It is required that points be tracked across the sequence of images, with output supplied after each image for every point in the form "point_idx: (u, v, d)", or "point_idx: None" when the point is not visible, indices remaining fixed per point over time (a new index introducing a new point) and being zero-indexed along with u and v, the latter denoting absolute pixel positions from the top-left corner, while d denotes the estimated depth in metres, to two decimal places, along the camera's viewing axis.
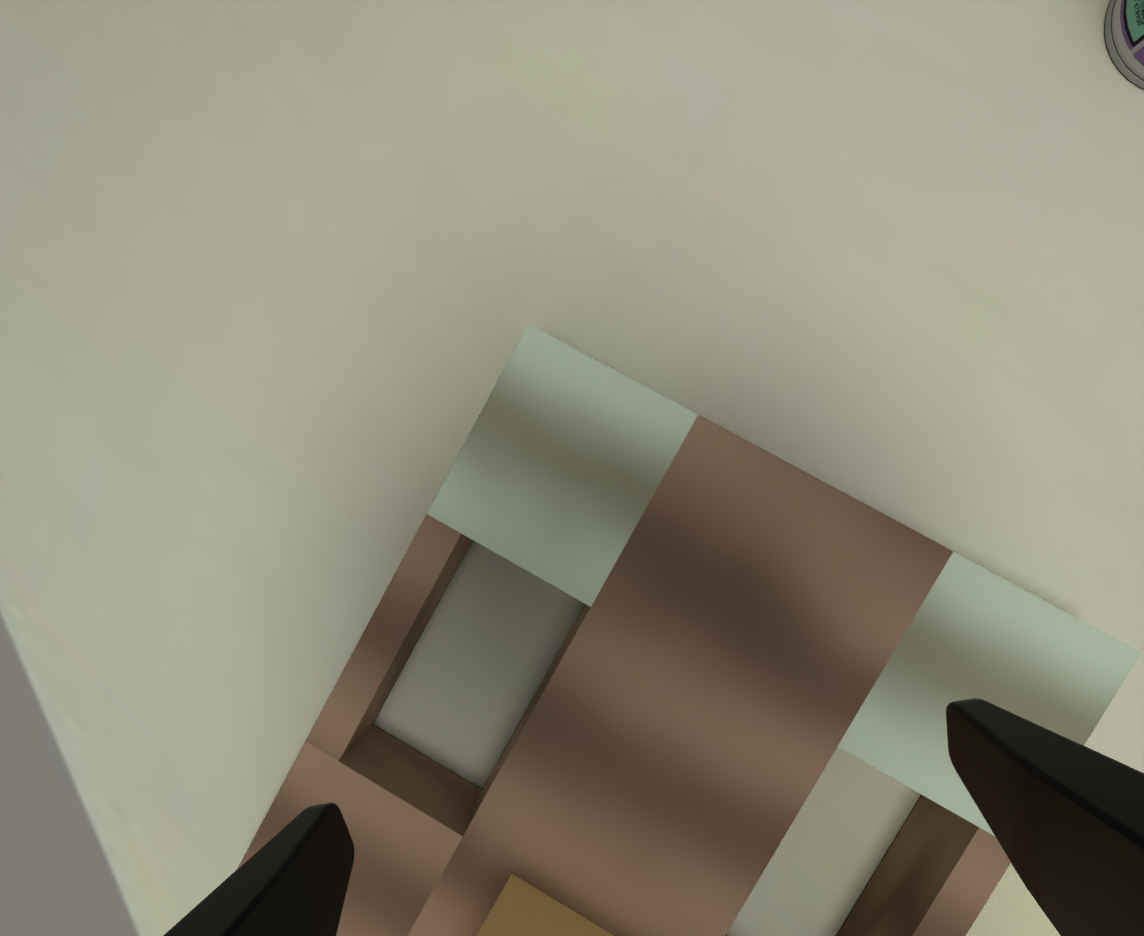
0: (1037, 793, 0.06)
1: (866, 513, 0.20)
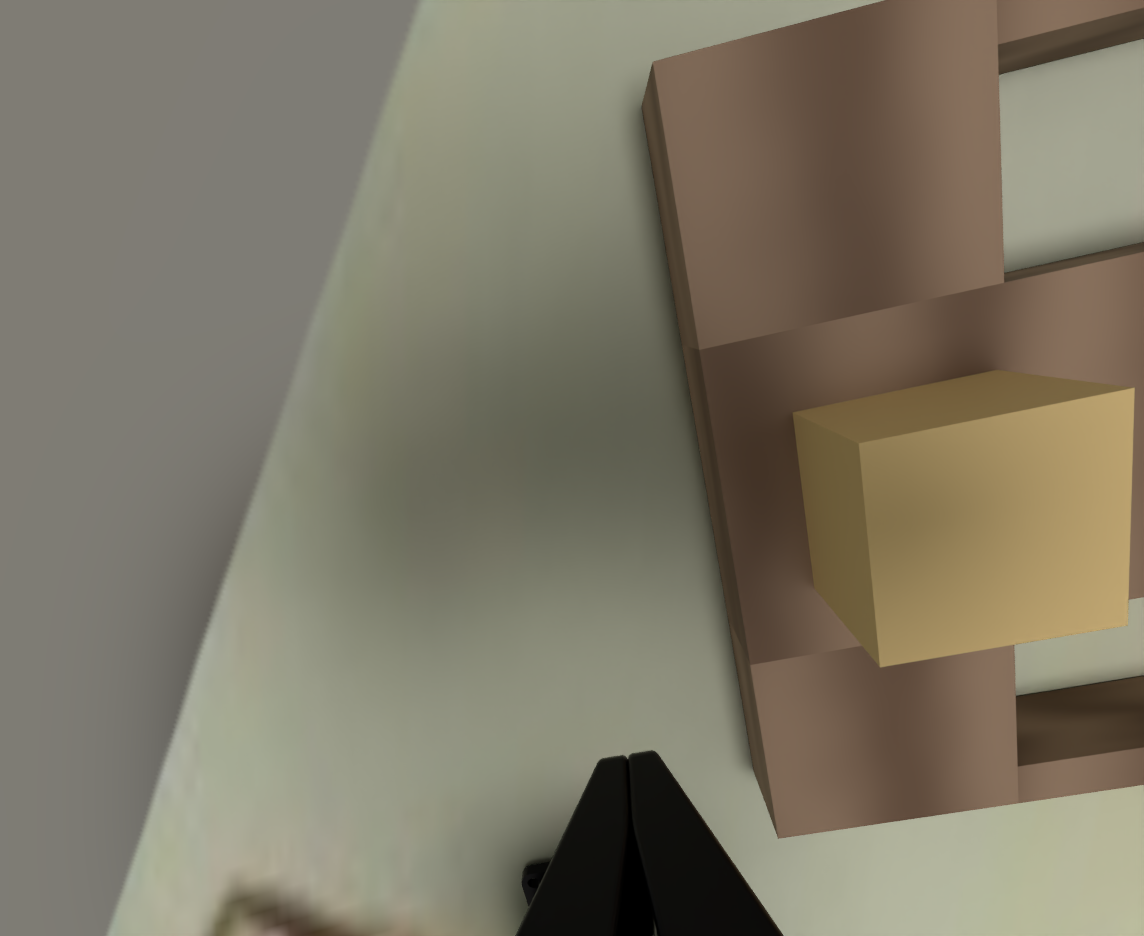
0: None
1: None
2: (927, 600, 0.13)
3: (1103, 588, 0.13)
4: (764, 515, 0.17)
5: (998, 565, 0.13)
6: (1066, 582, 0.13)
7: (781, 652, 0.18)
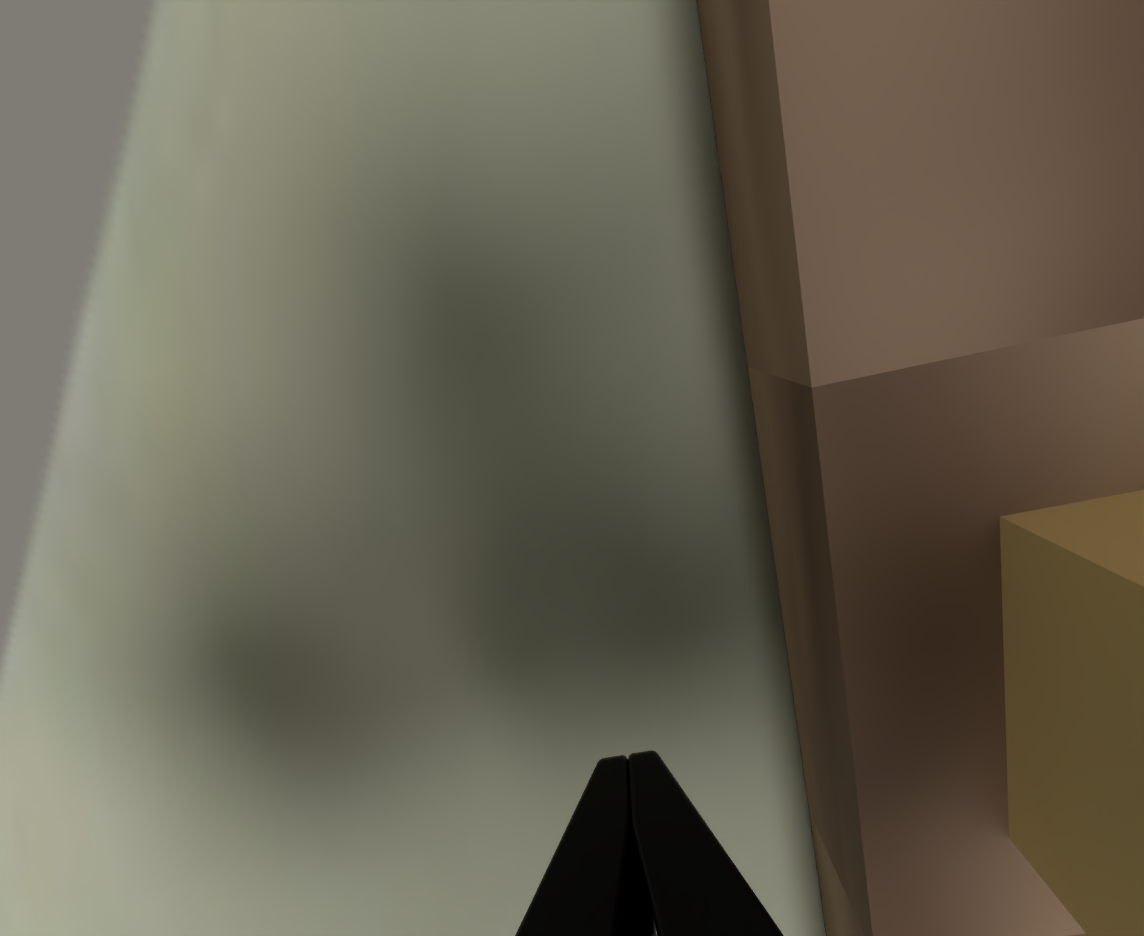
0: None
1: None
2: None
3: None
4: (923, 709, 0.08)
5: None
6: None
7: None
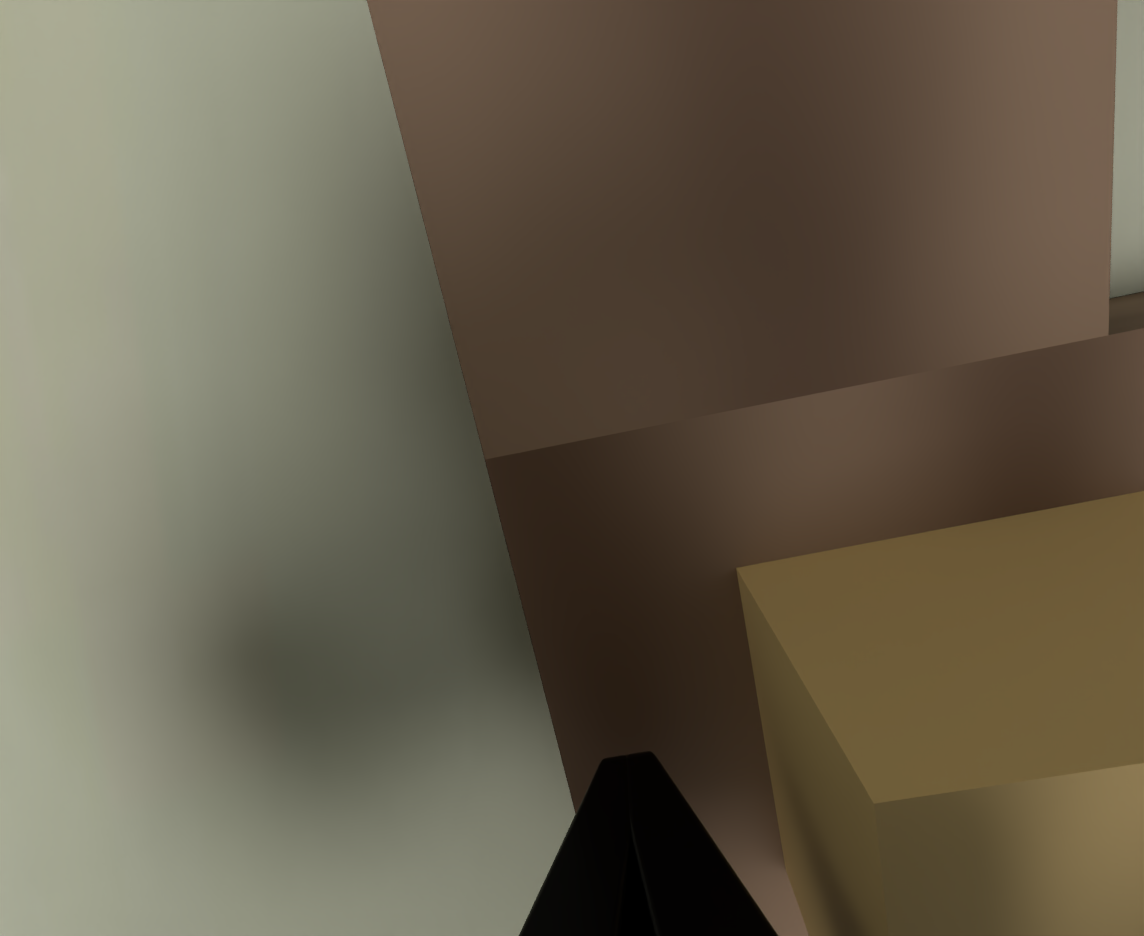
0: None
1: None
2: None
3: None
4: None
5: None
6: None
7: None
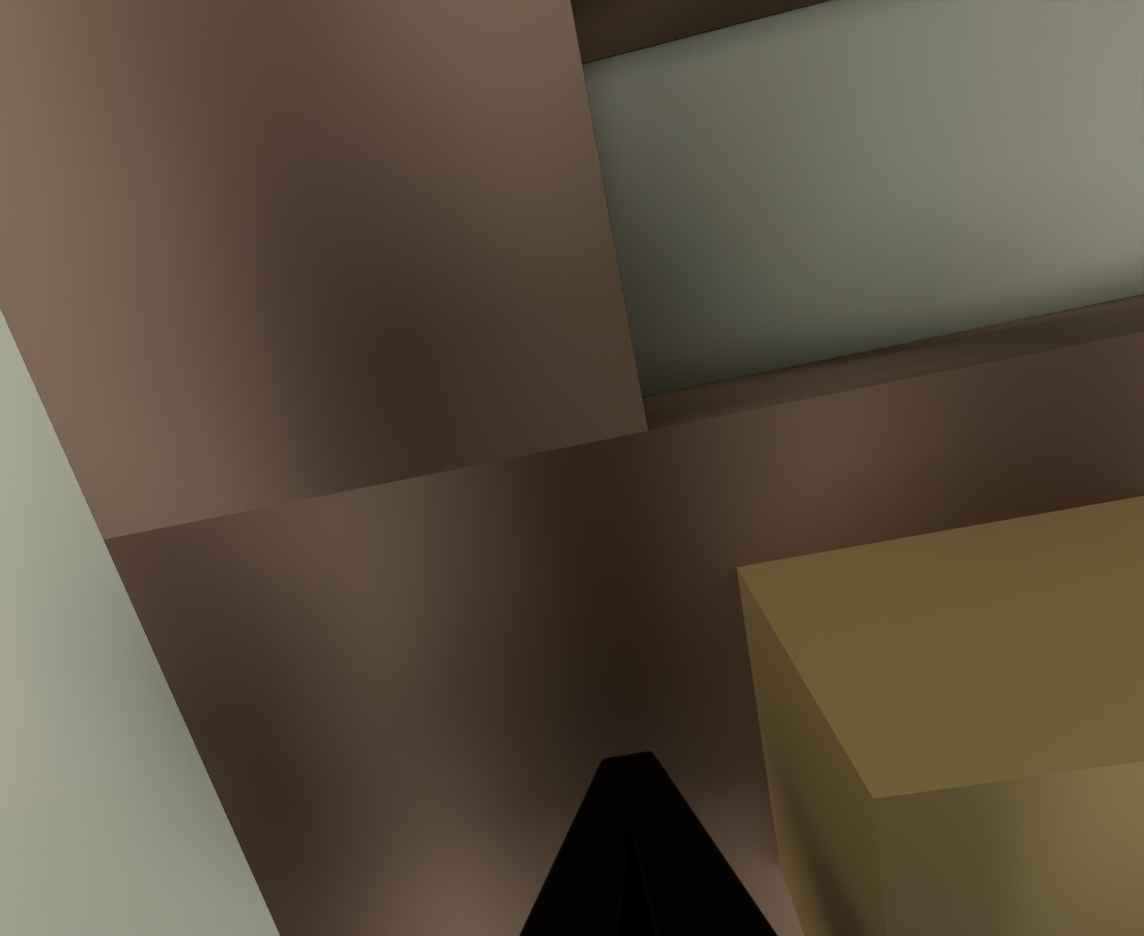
0: None
1: None
2: None
3: None
4: (288, 810, 0.09)
5: None
6: None
7: None
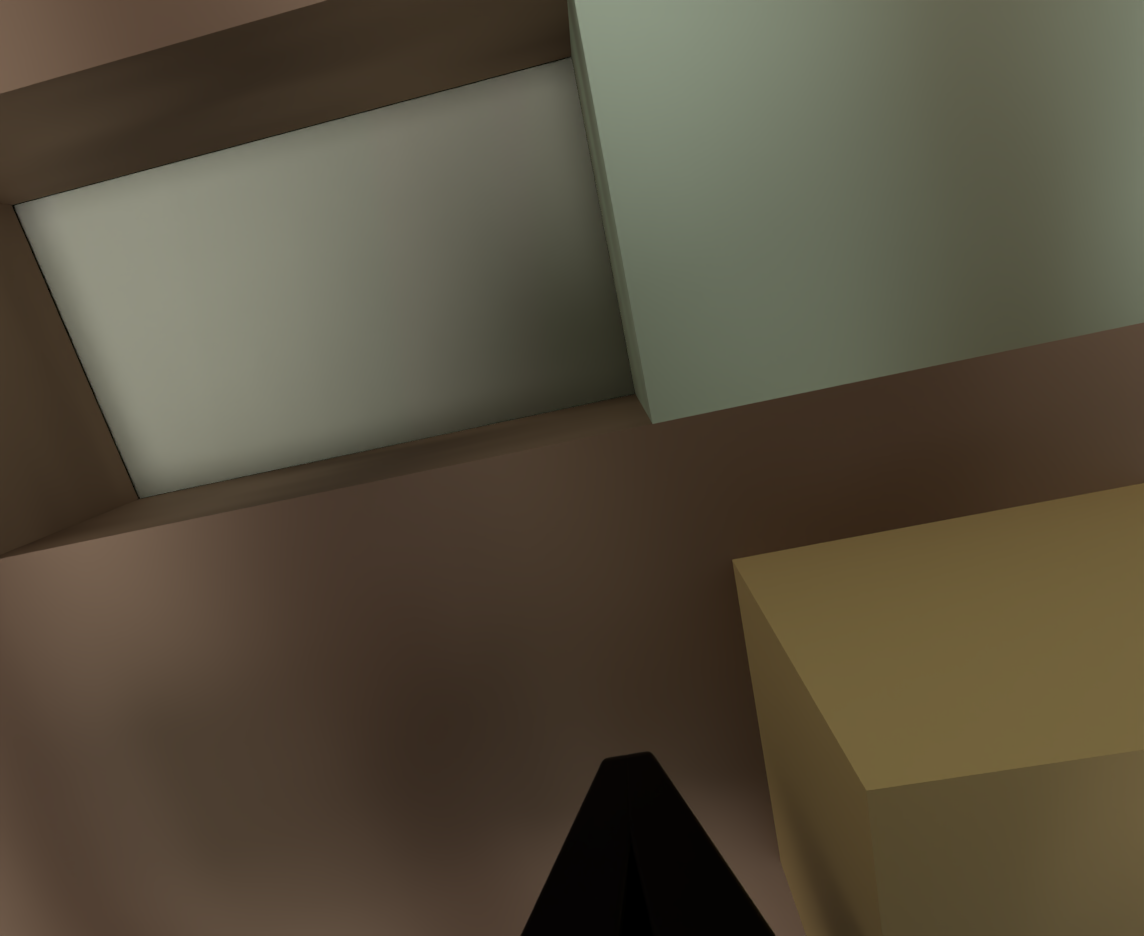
0: None
1: None
2: None
3: None
4: None
5: None
6: None
7: None
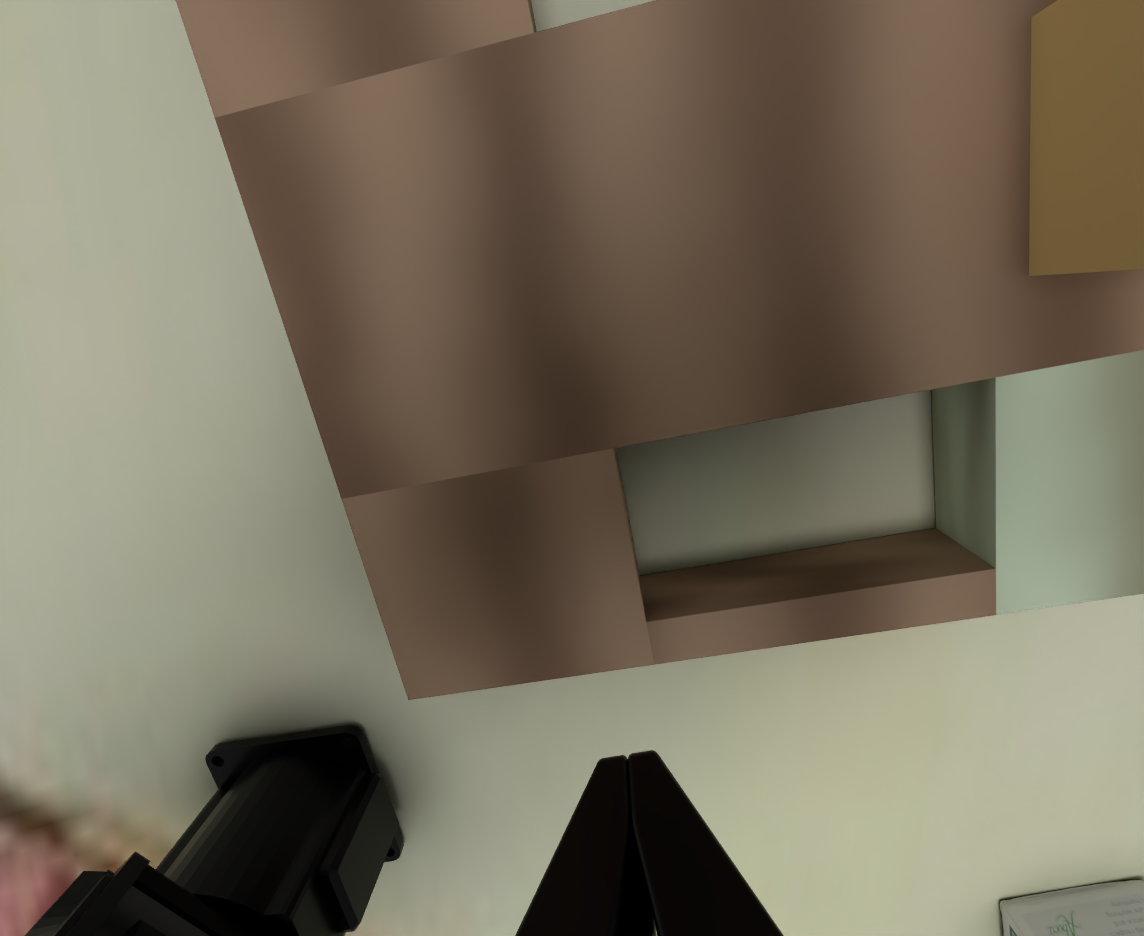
0: None
1: None
2: None
3: None
4: (322, 320, 0.15)
5: None
6: None
7: (371, 484, 0.16)
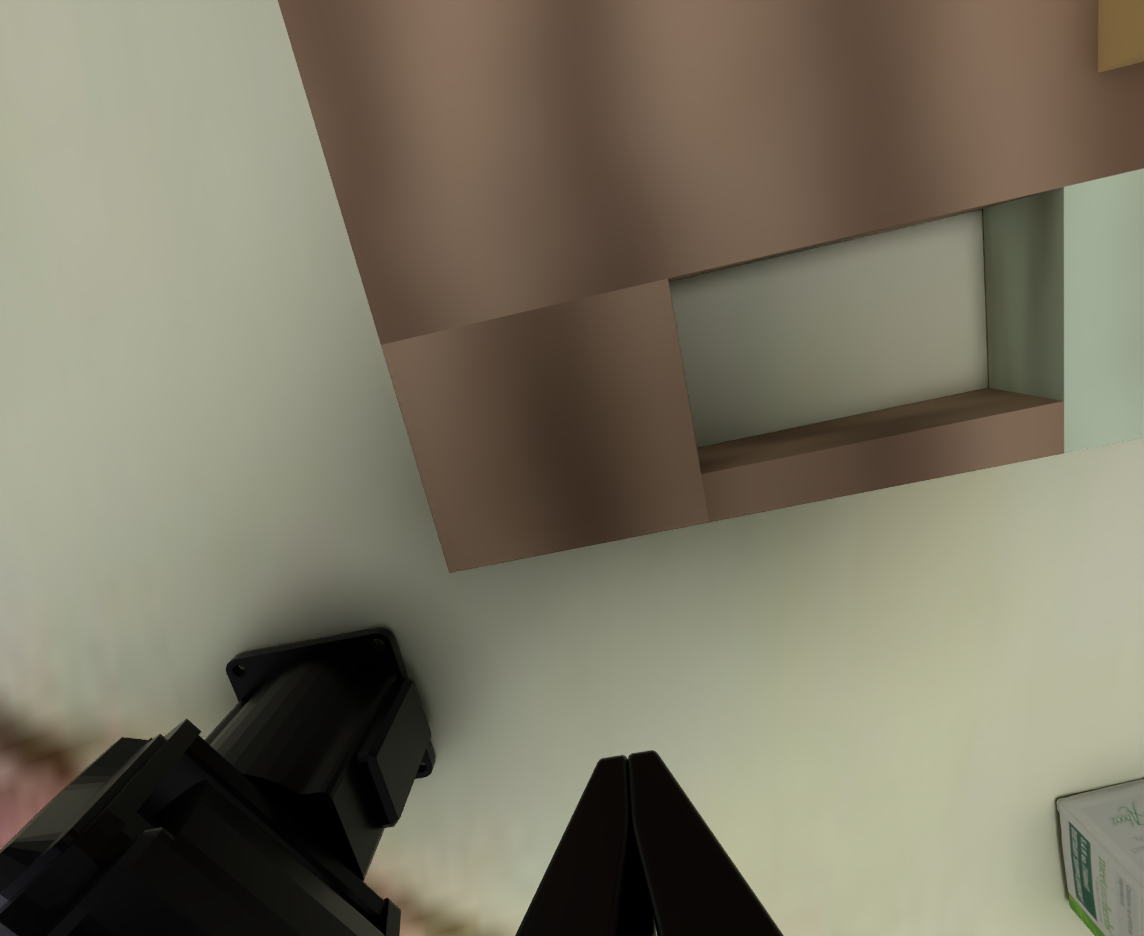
0: None
1: None
2: None
3: None
4: (363, 142, 0.14)
5: None
6: None
7: (412, 327, 0.15)
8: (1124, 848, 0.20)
